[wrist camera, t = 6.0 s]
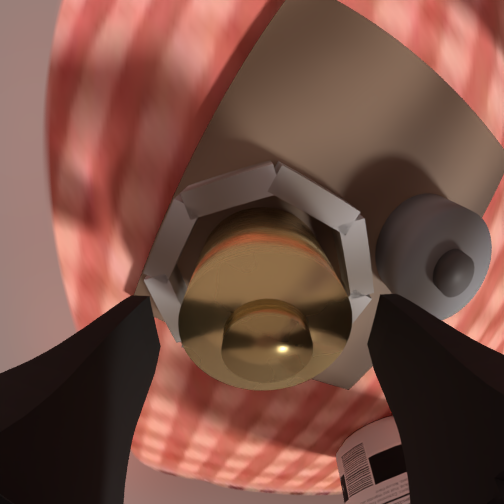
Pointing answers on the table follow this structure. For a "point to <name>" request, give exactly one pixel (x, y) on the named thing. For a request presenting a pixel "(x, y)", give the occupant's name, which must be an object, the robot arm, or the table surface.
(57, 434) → the robot arm
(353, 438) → the supplement can
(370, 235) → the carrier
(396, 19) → the table surface
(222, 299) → the brass knob
